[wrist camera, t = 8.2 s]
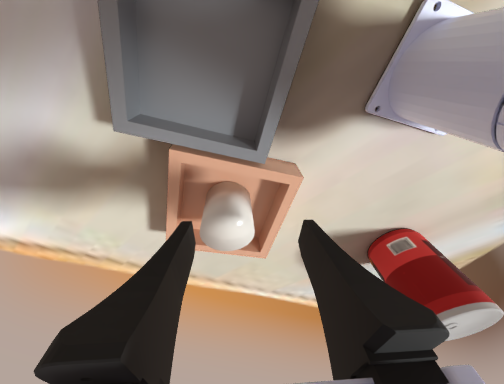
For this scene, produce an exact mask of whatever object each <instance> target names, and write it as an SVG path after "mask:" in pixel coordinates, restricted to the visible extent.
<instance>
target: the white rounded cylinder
mask: <svg viewBox="0 0 504 384" xmlns="http://www.w3.org/2000/svg"><path fill="white" fill-rule="evenodd" d="M254 234H255V230H254V222H253V214H252V206H251V198H250V194H249V192H248V190H247V189H246V188H245V187H244V186H242V185H240V184H238V183H235V182H221V183H218V184H216V185H214V186H213V187H211V188H210V189H209V191H208V192H207V195H206V200H205V205H204V210H203V216H202V221H201V226H200V237H201V240H202V241H203V242H204V243H205V244H206V245H207V246H209V247H210V248H213V249H215V250H220V251H234V250H238V249H241V248H243V247H245V246H246V245H248V244H249V243H250V242H251V241H252V239H253V237H254Z"/></svg>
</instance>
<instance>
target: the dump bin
mask: <svg viewBox="0 0 504 384" xmlns="http://www.w3.org/2000/svg"><path fill="white" fill-rule="evenodd" d="M303 178H304V177H303V176H302V174H301V172H300V170H299V169H298V167H297V165H296V164H295V163H290V162H286V161H281V160H277V159H272V158H268V157H267V159H266V162H265V164H262V163H257V162H253V161H248V160H244V159H239V158H235V157H230V156H225V155H221V154H216V153H212V152H207V151H203V150H198V149H193V148H189V147H184V146H180V145H175V144H173V145H172V146H171V147H170V148H169V165H168V193H167V221H166V241H167V239H168V238H169V237H170V236H171V234H172V233H173V232H174V231H175V229H176V228H177V227H178V225H179V224H180V223H181V222H182V221H192V224H193V230H194V236H195V241H196V246H195V250H196V251H205V252H214V253H223V254H231V255H240V256H249V257H257V258H266V257H267V255H268V253H269V250H270V248H271V246H272V244H273V242H274V240H275V238H276V236H277V233H278V231H279V229H280V227H281V225H282V223H283V221H284V219H285V217H286V214H287V212H288V210H289V208H290V206H291V204H292V202H293V200H294V197H295V195H296V193H297V191H298V189H299V187H300V185H301V183H302V180H303ZM221 182H235V183H238V184H240V185H242V186H244V187H245V188H246V189H247V190H248V192H249V194H250V198H251V206H252V214H253V222H254V230H255V234H254V237H253V239H252V241H251V242H250V243H249V244H248V245H246V246H245V247H243V248H241V249H238V250H234V251H220V250H215V249H213V248H210V247H209V246H207V245H206V244H205V243H204V242H203V241H202V240H201V237H200V226H201V221H202V216H203V210H204V205H205V200H206V195H207V192H208V191H209V189H210V188H211V187H213V186H214V185H216V184H218V183H221Z"/></svg>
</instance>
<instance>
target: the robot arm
mask: <svg viewBox="0 0 504 384" xmlns="http://www.w3.org/2000/svg"><path fill="white" fill-rule="evenodd" d="M435 4H437V7H436V9H435V10H433V8H434V5H435ZM377 106H378V109H377V110H376V111H375V108H376V107H377ZM365 110H366V112H368V113H370V114H374V115H377V116H380V117H383V118H387V119H390V120H393V121H396V122H400V123H403V124H406V125H409V126H412V127H416V128H419V129H422V130H425V131H429V132H432V133H435V134H438V135H445V134H447V133H448V134H451V135H454V136H457V137H460V138H463V139H466V140H469V141H472V142H475V143H478V144H481V145H484V146H487V147H490V148H493V149H496V150H499V151H502V152H504V7H503V8H498V9H493V10H489V11H484V12H479V13H473V12H471V11H469V10H467V9H465V8H463V7H461V6H459V5H457V4H455V3H453V2H451V1H449V0H424V1H423V2H422V4H421V6H420V8H419V10H418V11H417V13H416V15H415V17H414V19H413V21H412V22H411V24H410V26H409V28H408V30H407V32H406V33H405V35H404V37H403V39H402V41H401V42H400V44H399V46H398V48H397V50H396V52H395V53H394V55H393V57H392V59H391V61H390V63H389V64H388V66H387V68H386V70H385V72H384V74H383V75H382V77H381V79H380V81H379V83H378V85H377V86H376V88H375V90H374V92H373V94H372V96H371V97H370V99H369V101H368V103H367V105H366V107H365ZM298 243H299V248H300V252H301V256H302V259H303V262H304V265H305V267H306V270H307V273H308V276H309V278H310V281H311V284H312V287H313V290H314V293H315V296H316V300H317V304H318V308H319V311H320V316H321V320H322V324H323V328H324V333H325V338H326V342H327V347H328V353H329V358H330V363H331V369H332V375H333V380H334V381H321V382H309V383H295V384H485V382H484V381H483V380H482V379H481V377H480V376H479V375H478V373H477V372H476V371H475V369H474V368H473V367H472V366H471V365H457V366H447V367H442V368H440V367H439V366H438V365H437V363H436V362H435V360H437V359H438V357H437V355H436V354H435V352H434V351H433V348H435V347H436V346H438V345H439V344H441V343H442V342H444V341H445V340H446V339H448V337H449V334H450V333H449V331H448V329H447V328H446V327H445V325H444V324H443V323H442V322H441V320H440V319H439V318H438V317H437V315H436V314H435V313H434V312H433V310H431V309H429V308H427V307H425V306H424V305H422V304H420V303H418V302H416V301H414V300H413V299H411V298H409V297H407V296H406V295H404V294H402V293H401V292H399V291H397V290H396V289H394V288H392V287H391V286H389V285H388V284H386V283H385V282H383V281H382V280H380V279H379V278H377V277H376V276H375V275H373V274H372V273H370V272H369V271H368V270H366V269H365V268H364V267H362V266H361V265H360V264H359V263H357V262H356V261H355V260H354V259H352V258H351V257H350V256H349V255H348V254H347V253H346V252H345V251H343V250H342V249H341V248H340V247H339V246H338V245H337V244H336V243H335V242H334V241H333V240H332V239H331V238H330V237H329V236H328V235H327V234H326V233H325V232H324V231H323V230H322V229H321V228H320V227H319V226H318V225H317V224H316V223H315V221H314V220H304V221H303V225H302V229H301V232H300V236H299V240H298ZM195 246H196V241H195V236H194V230H193V224H192V221H182V222H181V223H180V224H179V225H178V227H177V228H176V229H175V231H174V232H173V233H172V234H171V236H170V237H169V238H168V239H167V241H166V242H165V243H164V244H163V245H162V247H161V248H160V249H159V250H158V251H157V252H156V253H155V254H154V255H153V257H152V258H151V259H150V260H149V261H148V262H147V263H146V264H145V265H144V266H143V267H142V268H141V269H140V270H139V271H138V272H137V273H136V274H134V275H133V276H132V277H131V278H130V279H129V280H128V281H127V282H125V283H124V284H123V285H122V286H121V287H120V288H118V289H117V290H116V291H115V292H113V293H112V294H111V295H109V296H108V297H107V298H106V299H104V300H103V301H102V302H100V303H99V304H98V305H96V306H95V307H94V308H92V309H91V310H89V311H88V312H87V313H85V314H84V315H82V316H81V317H79V318H78V319H76V320H75V321H73V322H72V323H70V324H69V325H67V326H66V327H64V328H63V329H61V331H60V332H59V333H58V335H57V336H56V337H55V339H54V340H53V342H52V343H51V345H50V346H49V348H48V349H47V351H46V353H45V354H44V356H43V357H42V359H41V360H40V362H39V363H38V365H37V367H36V368H35V370H34V373H35V376H36V377H38V378H39V379H41V380H43V381H45V382H47V383H49V384H169V383H170V376H171V368H172V361H173V353H174V346H175V341H176V340H175V339H176V334H177V328H178V322H179V316H180V310H181V305H182V300H183V295H184V291H185V288H186V284H187V281H188V277H189V273H190V270H191V266H192V262H193V259H194V253H195Z"/></svg>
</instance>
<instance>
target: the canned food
mask: <svg viewBox="0 0 504 384" xmlns="http://www.w3.org/2000/svg"><path fill="white" fill-rule="evenodd" d="M368 257H369V260H370V262H371V264H372V265H373V267H374V268H375V270H376V271H377V273H378V274H379V276H380V277H381V279H382V280H383V282H385V283H386V284H388V285H389V286H391V287H392V288H394V289H396V290H397V291H399V292H401V293H402V294H404V295H406V296H407V297H409V298H411V299H413V300H414V301H416V302H418V303H420V304H422V305H424V306H425V307H427V308H429V309H431V310H433V312H434V313H435V314H436V315H437V317H438V318H439V319H440V320H441V322H442V323H443V324H444V325H445V327H446V328H447V329H448V331H449V333H450V334H449V337H448V339H446V340H445V341H448V340H453V339H458V338H461V337H465V336H468V335H471V334H474V333H477V332H479V331H482V330H484V329H486V328H488V327H490V326H492V325H493V324H495V323H496V322H498V321H499V320H500V319H501V318H502V316H503V314H504V312H503V311H502V310H501V309H500V308H499V307H498V305H497V304H496V303H495V302H493V301H492V300H491V299H490V298H489V297H488V296H487V295H486V294H485V293H484V292H483V291H482V290H481V289H480V288H479V287H478V286H476V285H475V284H474V283H473V282H472V281H471V280H470V279H469V278H468V277H467V276H466V275H465V274H463V273H462V272H461V271H460V270H459V269H458V268H457V267H456V266H455V265H454V264H453V263H451V262H450V261H449V260H448V259H447V258H446V257H445V256H444V255H443V254H442V253H441V252H440V251H438V250H437V249H436V248H435V247H434V246H433V245H432V244H431V243H430V242H429V241H428V240H426V239H425V238H424V237H423V236H422V235H421V234H420V233H418V232H416V231H414V230H411V229H398V230H394V231H391V232H388V233H386V234H384V235H382V236H381V237H379V238H378V239H377V240H375V241H374V242H373V243H372V245H371V246H370V248H369V250H368Z"/></svg>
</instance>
